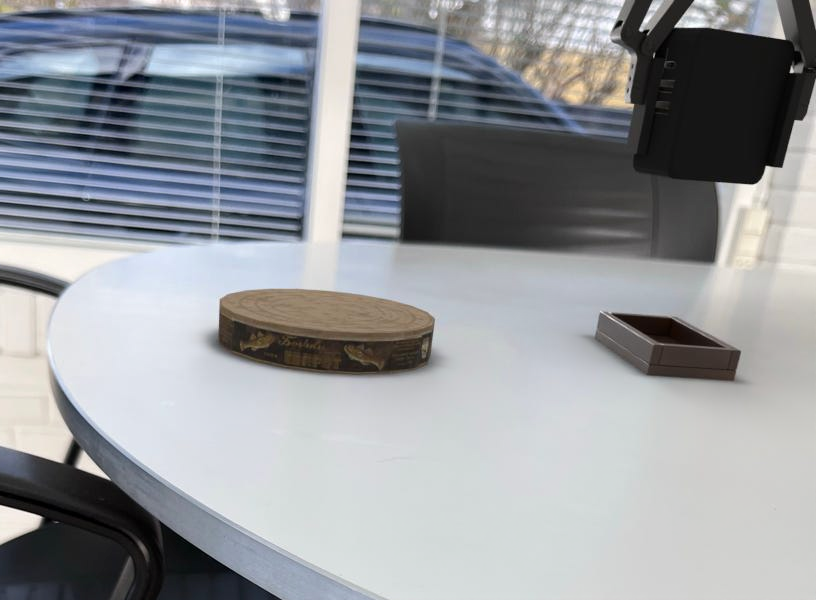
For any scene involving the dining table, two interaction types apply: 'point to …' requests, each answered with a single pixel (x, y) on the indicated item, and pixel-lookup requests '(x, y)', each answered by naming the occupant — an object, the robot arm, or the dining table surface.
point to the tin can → (325, 331)
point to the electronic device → (716, 105)
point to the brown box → (667, 346)
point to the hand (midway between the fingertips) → (703, 160)
